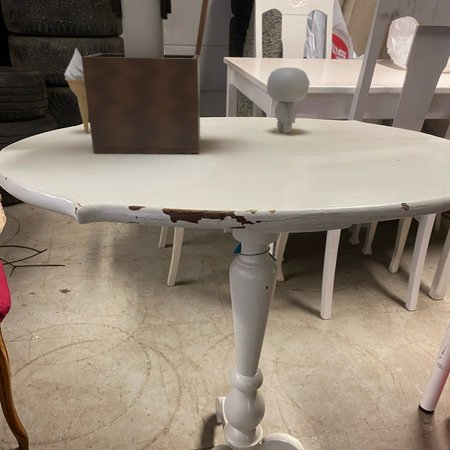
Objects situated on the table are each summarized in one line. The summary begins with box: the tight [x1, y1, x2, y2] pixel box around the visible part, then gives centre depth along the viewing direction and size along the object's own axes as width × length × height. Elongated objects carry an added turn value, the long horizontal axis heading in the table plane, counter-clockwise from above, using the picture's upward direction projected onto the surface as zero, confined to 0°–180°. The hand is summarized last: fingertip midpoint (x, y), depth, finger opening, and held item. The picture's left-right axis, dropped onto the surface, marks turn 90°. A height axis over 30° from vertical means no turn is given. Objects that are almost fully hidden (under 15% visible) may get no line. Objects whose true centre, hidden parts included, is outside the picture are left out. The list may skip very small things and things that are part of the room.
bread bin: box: [82, 53, 201, 155], centre depth 80 cm, size 18×13×14 cm
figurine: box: [266, 67, 310, 134], centre depth 94 cm, size 8×8×12 cm
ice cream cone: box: [63, 47, 90, 133], centre depth 90 cm, size 6×6×15 cm
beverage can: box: [120, 0, 165, 58], centre depth 74 cm, size 6×6×12 cm
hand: (142, 17), depth 74 cm, fingers closed on beverage can, 6 cm apart
